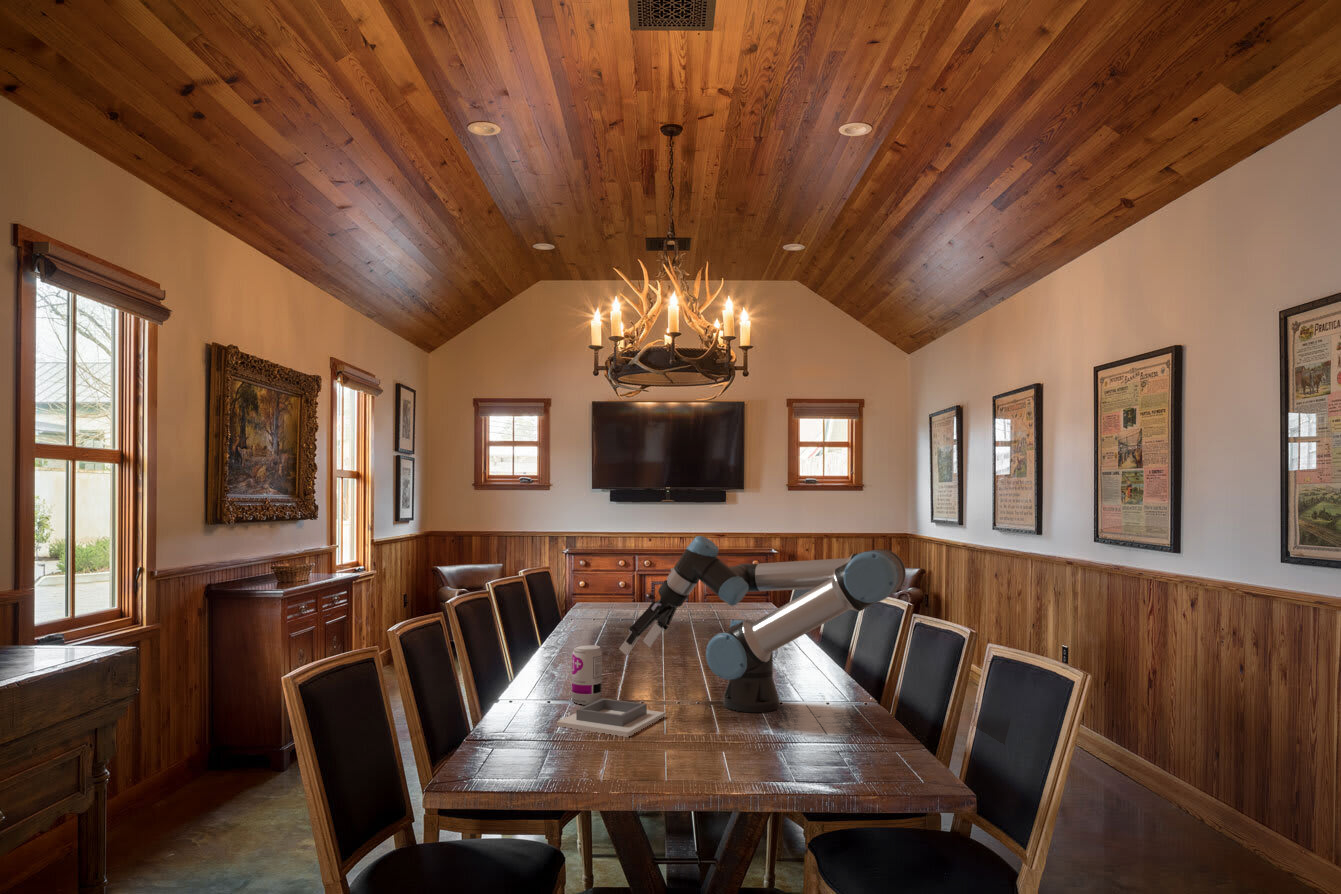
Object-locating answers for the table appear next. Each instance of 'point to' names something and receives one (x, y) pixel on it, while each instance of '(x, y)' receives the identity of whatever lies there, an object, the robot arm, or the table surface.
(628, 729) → the socket board
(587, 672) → the supplement can
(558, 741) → the table surface
